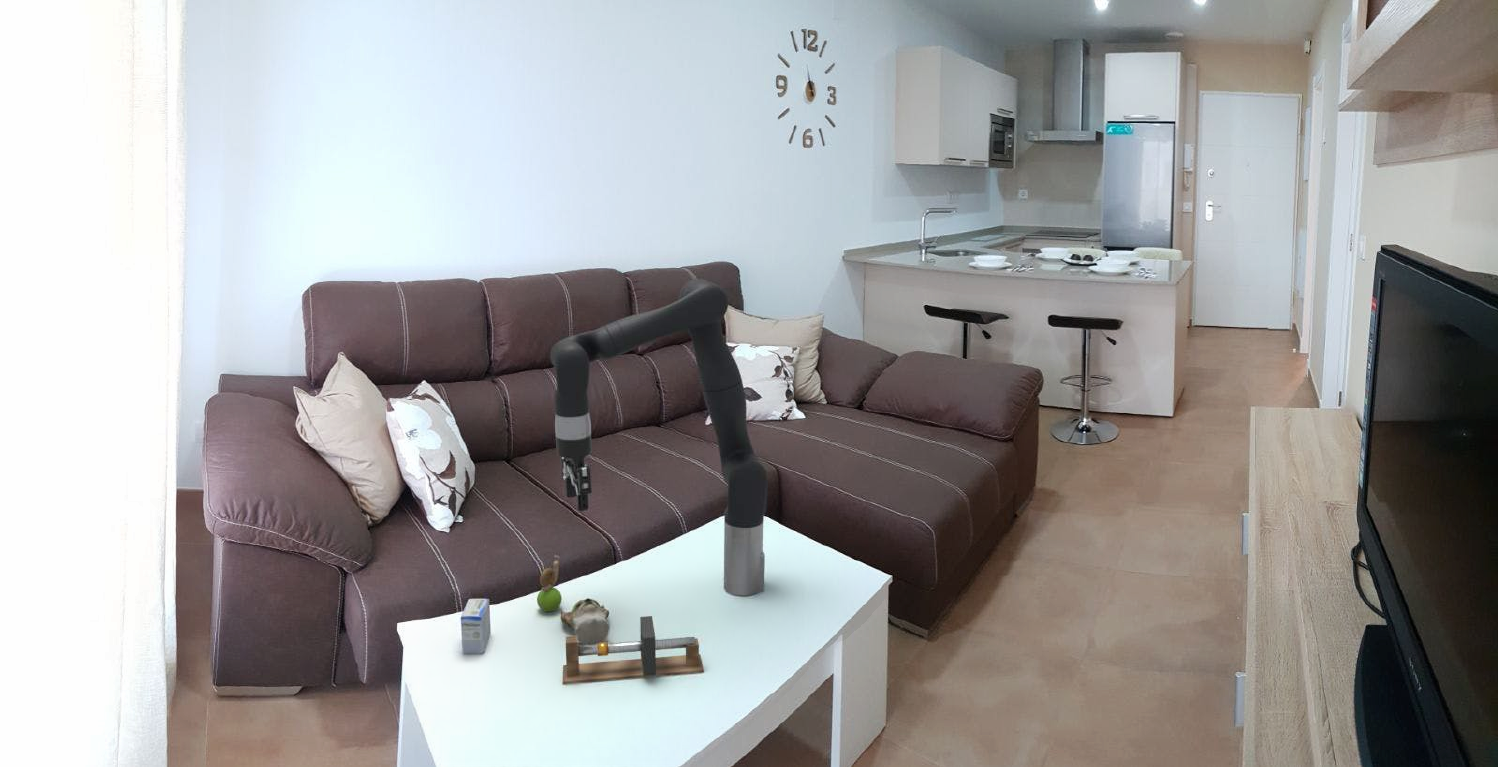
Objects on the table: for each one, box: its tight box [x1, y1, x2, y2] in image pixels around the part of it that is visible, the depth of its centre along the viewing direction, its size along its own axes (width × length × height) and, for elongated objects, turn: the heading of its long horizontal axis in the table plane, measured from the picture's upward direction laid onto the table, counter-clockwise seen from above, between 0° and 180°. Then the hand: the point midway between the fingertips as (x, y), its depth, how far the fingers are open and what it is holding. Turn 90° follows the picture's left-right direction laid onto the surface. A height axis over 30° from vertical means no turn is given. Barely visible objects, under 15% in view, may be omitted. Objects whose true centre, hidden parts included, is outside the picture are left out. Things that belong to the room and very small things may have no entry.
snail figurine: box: [536, 555, 562, 612], centre depth 212 cm, size 5×6×12 cm
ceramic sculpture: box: [560, 597, 611, 645], centre depth 203 cm, size 11×9×15 cm
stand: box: [562, 635, 705, 685], centre depth 189 cm, size 28×6×8 cm, turn 100°
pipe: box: [578, 636, 696, 657], centre depth 188 cm, size 25×3×3 cm, turn 100°
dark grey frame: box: [639, 615, 657, 676], centre depth 189 cm, size 2×8×8 cm, turn 10°
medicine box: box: [460, 598, 491, 655], centre depth 197 cm, size 8×4×9 cm, turn 5°
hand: (577, 503), depth 205 cm, fingers open, 8 cm apart
